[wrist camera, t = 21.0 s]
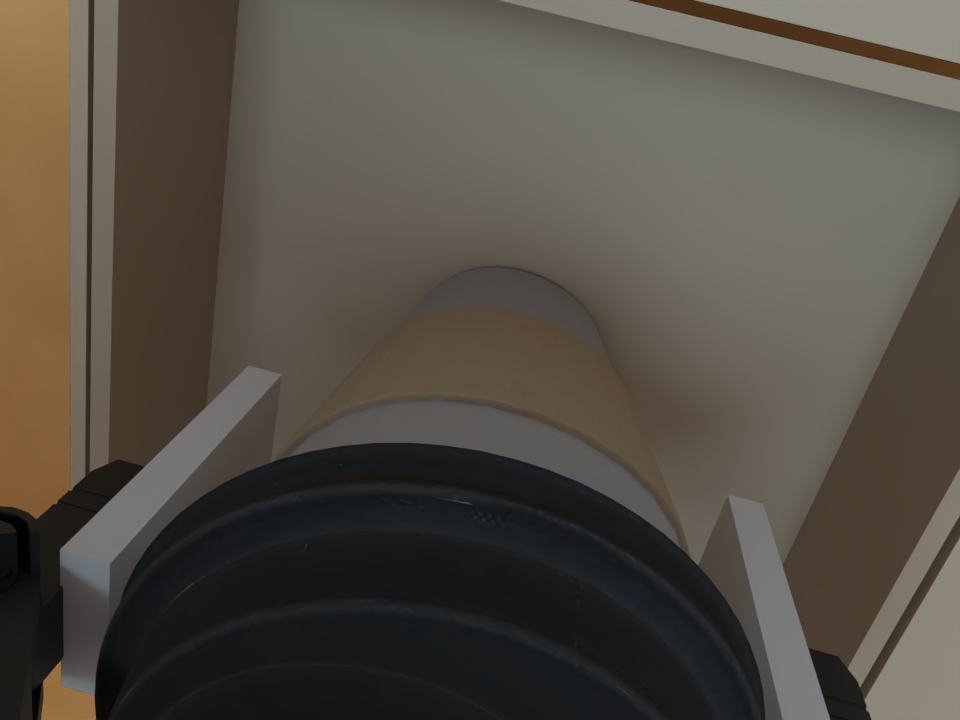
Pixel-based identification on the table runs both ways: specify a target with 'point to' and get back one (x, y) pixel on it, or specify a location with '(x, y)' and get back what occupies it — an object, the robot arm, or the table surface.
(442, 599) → the coffee cup
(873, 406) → the carton
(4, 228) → the table surface
